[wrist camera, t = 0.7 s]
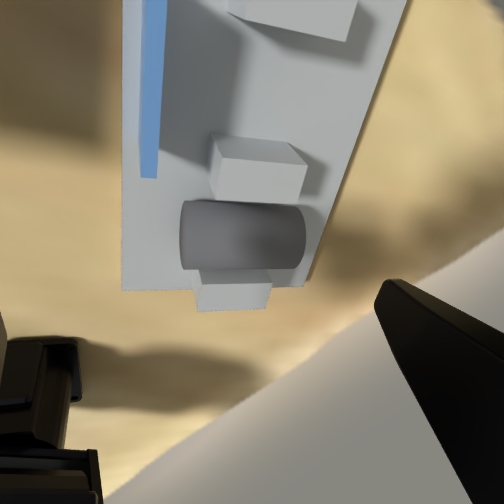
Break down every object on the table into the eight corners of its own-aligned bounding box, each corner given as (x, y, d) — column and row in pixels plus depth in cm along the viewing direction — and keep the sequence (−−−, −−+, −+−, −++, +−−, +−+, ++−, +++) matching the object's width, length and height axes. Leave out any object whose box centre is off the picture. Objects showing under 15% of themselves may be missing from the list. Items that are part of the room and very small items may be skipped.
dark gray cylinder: (291, 193, 21) (312, 235, 18) (274, 239, 23) (291, 281, 21) (184, 186, 19) (192, 232, 16) (177, 237, 21) (183, 283, 19)
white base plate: (298, 277, 27) (326, 329, 23) (121, 280, 23) (120, 343, 19) (404, -29, 17) (486, -28, 13) (123, -118, 13) (121, -154, 9)
